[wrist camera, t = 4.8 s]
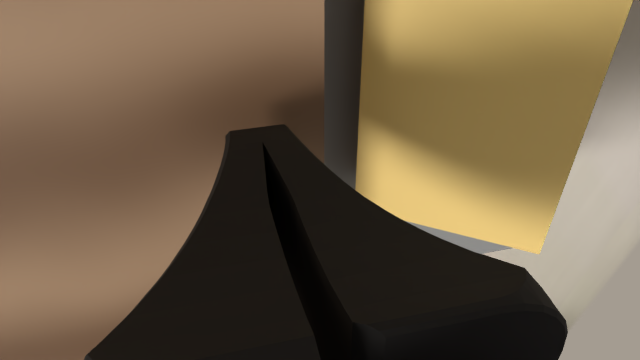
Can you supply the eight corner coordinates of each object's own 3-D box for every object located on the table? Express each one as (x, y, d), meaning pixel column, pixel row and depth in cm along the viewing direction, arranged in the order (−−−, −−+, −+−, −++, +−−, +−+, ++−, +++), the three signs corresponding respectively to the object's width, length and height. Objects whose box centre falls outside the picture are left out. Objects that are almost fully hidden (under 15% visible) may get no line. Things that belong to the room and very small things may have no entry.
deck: (302, 280, 22) (324, 361, 19) (1, 335, 20) (-31, 436, 17) (275, -417, 10) (324, -515, 7) (-514, -471, 8) (-985, -652, 5)
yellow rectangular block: (354, 208, 17) (371, 175, 19) (539, 254, 16) (541, 214, 17) (368, -83, 12) (391, -98, 13) (656, -62, 10) (645, -81, 12)
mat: (521, 241, 24) (524, 245, 24) (313, 279, 22) (315, 284, 22) (729, -387, 12) (740, -390, 11) (301, -416, 10) (304, -421, 10)
